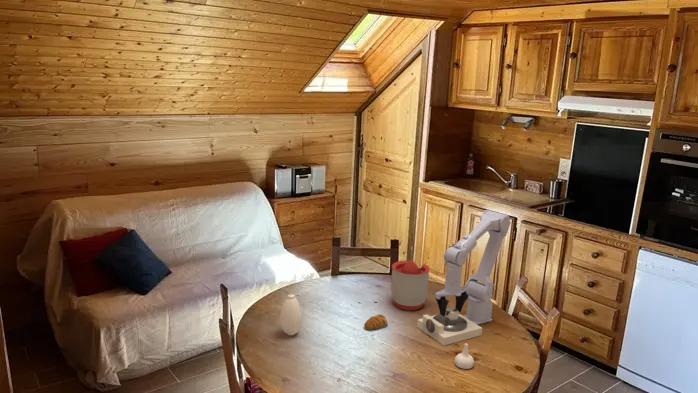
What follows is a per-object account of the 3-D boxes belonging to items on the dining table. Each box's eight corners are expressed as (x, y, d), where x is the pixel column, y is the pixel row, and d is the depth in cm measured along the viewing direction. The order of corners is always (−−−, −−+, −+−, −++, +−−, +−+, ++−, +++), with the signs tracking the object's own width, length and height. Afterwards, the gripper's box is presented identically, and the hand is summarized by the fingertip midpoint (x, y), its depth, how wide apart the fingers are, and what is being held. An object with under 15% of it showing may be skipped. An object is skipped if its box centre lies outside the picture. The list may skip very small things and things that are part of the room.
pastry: (372, 333, 194) (372, 324, 193) (359, 327, 199) (359, 318, 198) (389, 326, 200) (389, 317, 200) (376, 320, 205) (376, 311, 204)
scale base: (453, 317, 209) (454, 302, 207) (481, 335, 195) (483, 319, 194) (416, 326, 200) (417, 311, 199) (442, 345, 187) (444, 329, 185)
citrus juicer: (434, 301, 223) (438, 257, 218) (417, 316, 209) (420, 269, 204) (401, 293, 231) (404, 250, 227) (382, 306, 217) (385, 261, 212)
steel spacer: (451, 318, 200) (452, 305, 199) (460, 323, 196) (461, 311, 194) (441, 320, 197) (442, 308, 196) (450, 326, 193) (451, 313, 192)
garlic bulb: (461, 372, 171) (464, 352, 168) (450, 361, 176) (453, 341, 174) (476, 369, 173) (480, 348, 171) (465, 358, 179) (469, 338, 176)
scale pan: (451, 313, 206) (451, 311, 206) (474, 327, 195) (474, 325, 195) (425, 319, 200) (425, 317, 199) (447, 334, 188) (447, 332, 188)
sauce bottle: (305, 332, 193) (306, 286, 189) (294, 341, 186) (295, 294, 182) (287, 327, 196) (287, 282, 192) (276, 336, 189) (276, 290, 185)
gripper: (444, 286, 186) (441, 321, 189) (475, 279, 193) (472, 313, 196) (432, 279, 192) (430, 313, 195) (462, 273, 199) (459, 306, 202)
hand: (450, 313), depth 196 cm, fingers open, 7 cm apart
